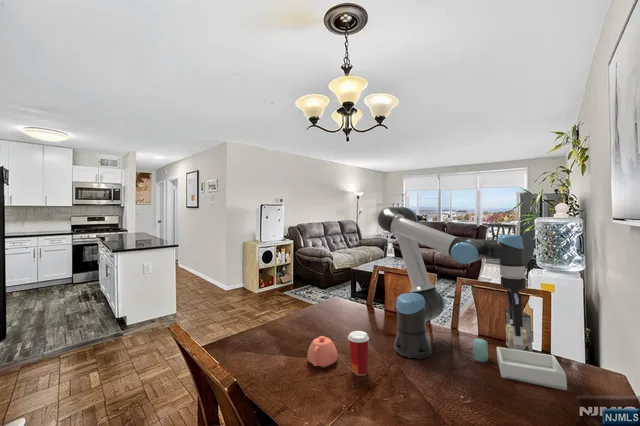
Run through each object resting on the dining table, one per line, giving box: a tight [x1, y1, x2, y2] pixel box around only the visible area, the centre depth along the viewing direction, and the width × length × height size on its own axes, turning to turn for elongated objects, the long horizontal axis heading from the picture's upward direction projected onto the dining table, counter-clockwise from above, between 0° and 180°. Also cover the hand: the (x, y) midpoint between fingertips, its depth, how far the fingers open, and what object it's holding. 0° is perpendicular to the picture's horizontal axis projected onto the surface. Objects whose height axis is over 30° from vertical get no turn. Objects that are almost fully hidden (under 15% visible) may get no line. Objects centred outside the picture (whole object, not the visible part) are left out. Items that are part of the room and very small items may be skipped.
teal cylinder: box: [472, 337, 489, 363], centre depth 108 cm, size 5×5×7 cm
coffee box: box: [503, 308, 533, 352], centre depth 114 cm, size 9×6×16 cm
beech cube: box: [507, 325, 528, 346], centre depth 99 cm, size 5×5×5 cm
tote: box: [496, 346, 568, 391], centre depth 97 cm, size 18×14×5 cm
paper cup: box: [347, 330, 370, 374], centre depth 102 cm, size 8×8×14 cm
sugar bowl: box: [307, 335, 339, 367], centre depth 109 cm, size 12×14×10 cm
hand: (516, 341), depth 99 cm, fingers closed on beech cube, 5 cm apart
